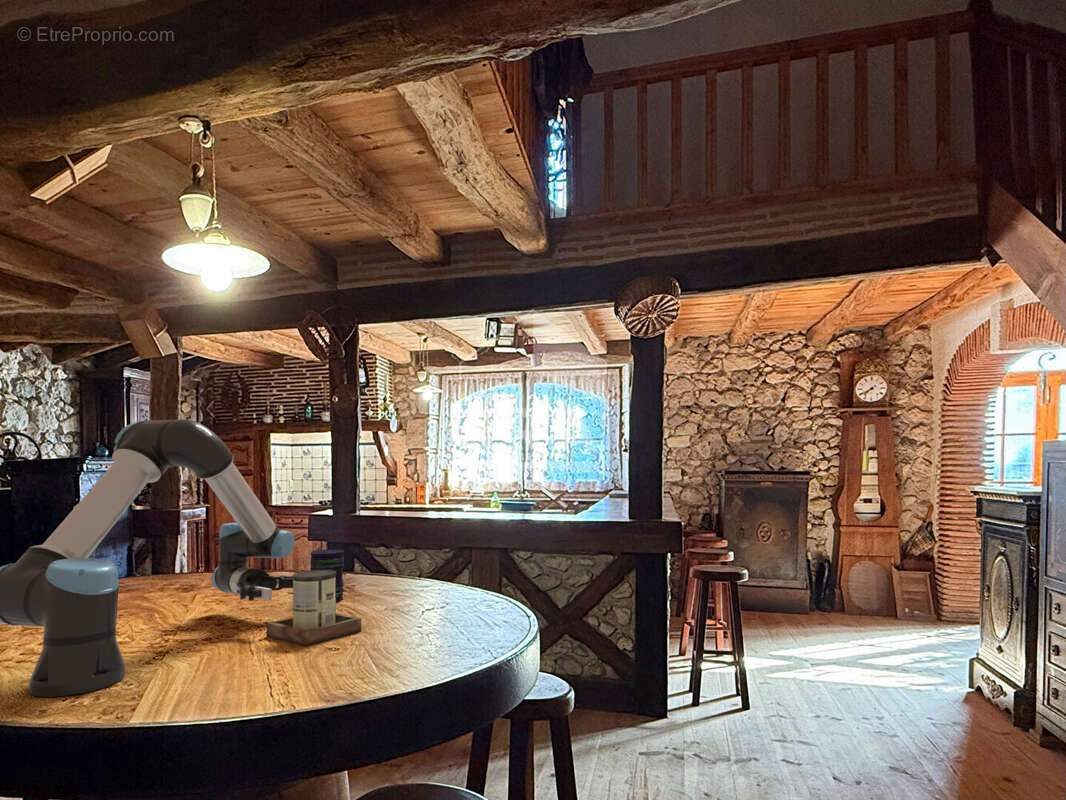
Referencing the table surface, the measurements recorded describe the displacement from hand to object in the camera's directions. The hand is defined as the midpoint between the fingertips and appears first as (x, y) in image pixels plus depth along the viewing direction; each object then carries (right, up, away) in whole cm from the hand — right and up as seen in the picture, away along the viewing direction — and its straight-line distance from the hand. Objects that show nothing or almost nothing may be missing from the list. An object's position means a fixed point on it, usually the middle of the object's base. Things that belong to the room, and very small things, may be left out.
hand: (295, 590), depth 166 cm
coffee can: (+7, -9, -6) cm, 13 cm away
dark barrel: (-3, -13, +33) cm, 36 cm away
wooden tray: (+7, -9, -6) cm, 13 cm away
